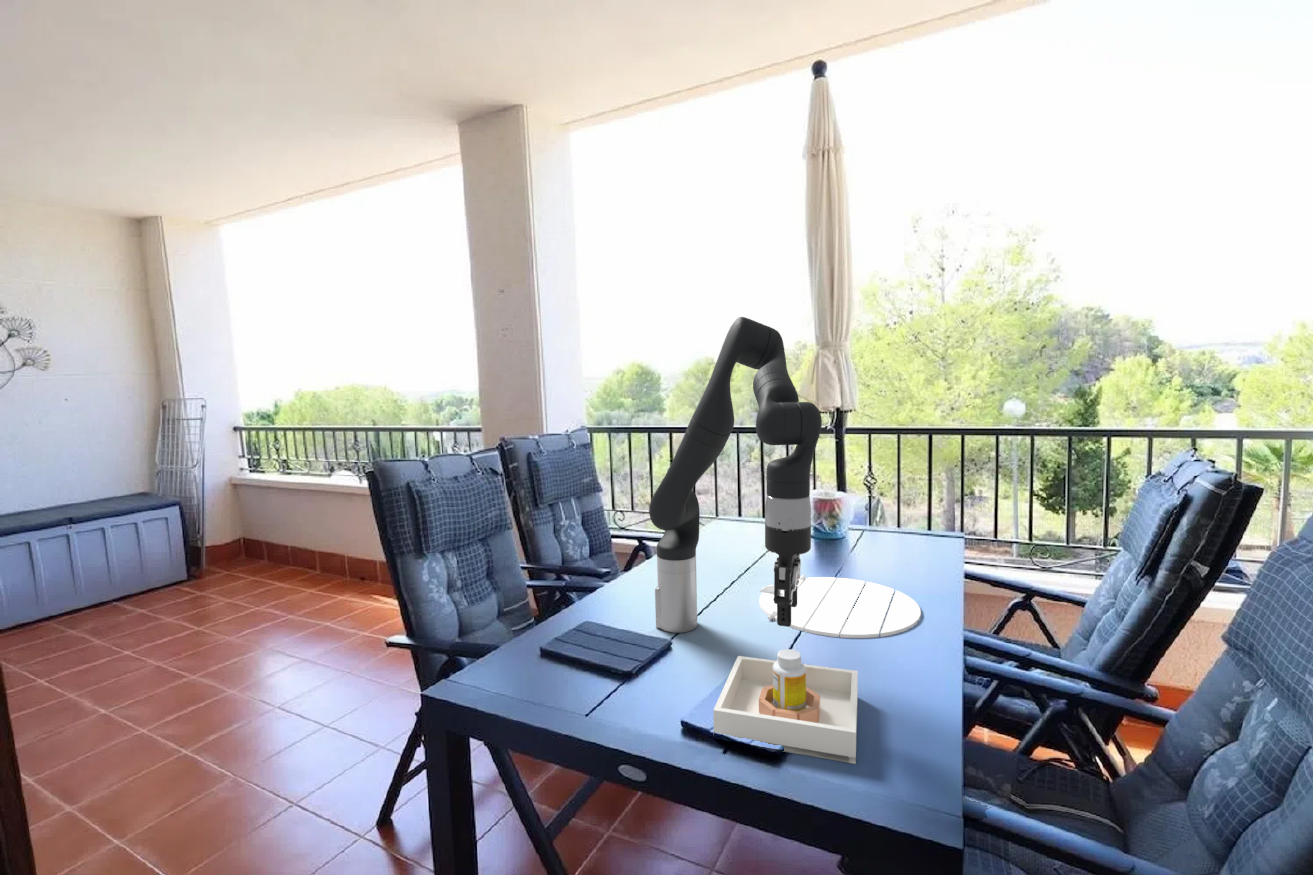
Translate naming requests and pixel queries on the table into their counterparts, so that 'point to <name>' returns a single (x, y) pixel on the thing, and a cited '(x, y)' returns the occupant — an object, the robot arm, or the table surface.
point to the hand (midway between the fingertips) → (787, 615)
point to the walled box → (804, 732)
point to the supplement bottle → (789, 681)
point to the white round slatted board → (845, 608)
